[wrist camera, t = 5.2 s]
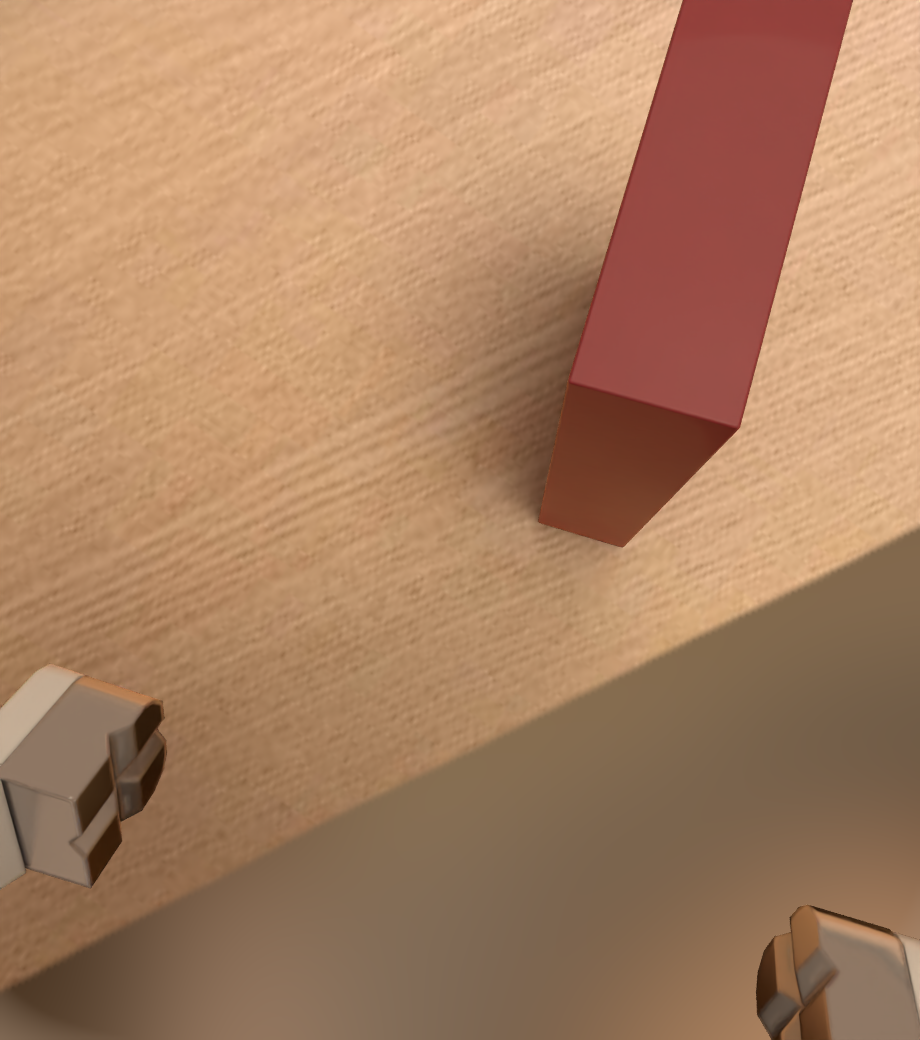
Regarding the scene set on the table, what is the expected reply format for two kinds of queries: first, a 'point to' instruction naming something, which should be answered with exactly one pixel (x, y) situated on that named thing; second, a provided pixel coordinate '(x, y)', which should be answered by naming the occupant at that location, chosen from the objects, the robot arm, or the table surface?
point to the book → (692, 260)
